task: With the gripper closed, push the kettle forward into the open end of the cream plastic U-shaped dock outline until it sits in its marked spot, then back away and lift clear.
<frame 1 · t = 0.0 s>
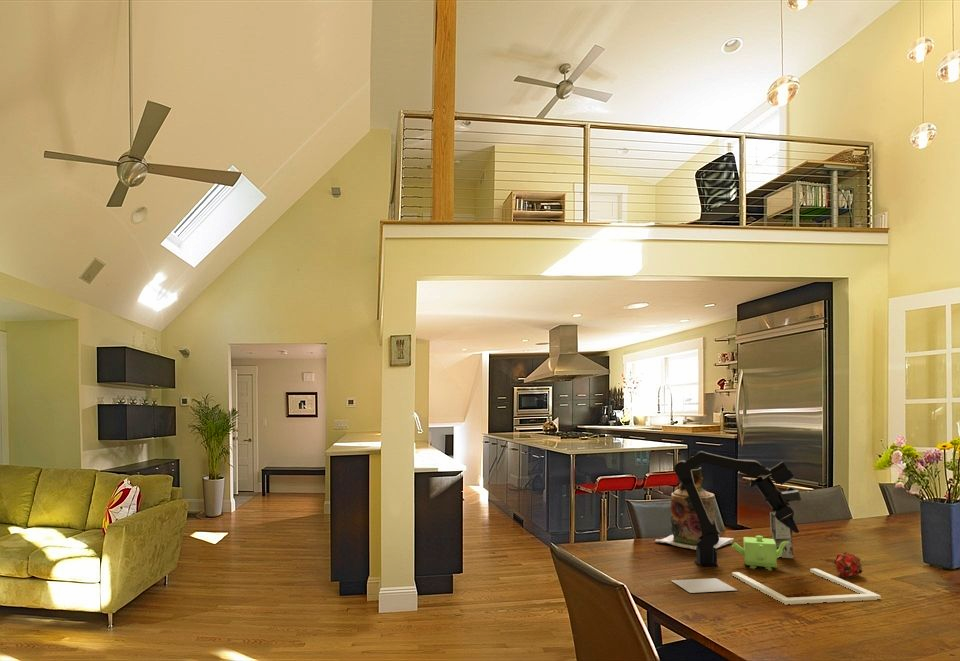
hand: (796, 529, 240), 15 cm above the table, tool tilted 35°, fingers open, 9 cm apart
dragon fruit: (848, 576, 234), on the table
paper stack: (698, 592, 218), on the table
kettle dock outline: (800, 585, 223), on the table
cookie jar: (694, 543, 283), on the table
coffee box: (782, 555, 263), on the table
kettle: (761, 568, 246), on the table
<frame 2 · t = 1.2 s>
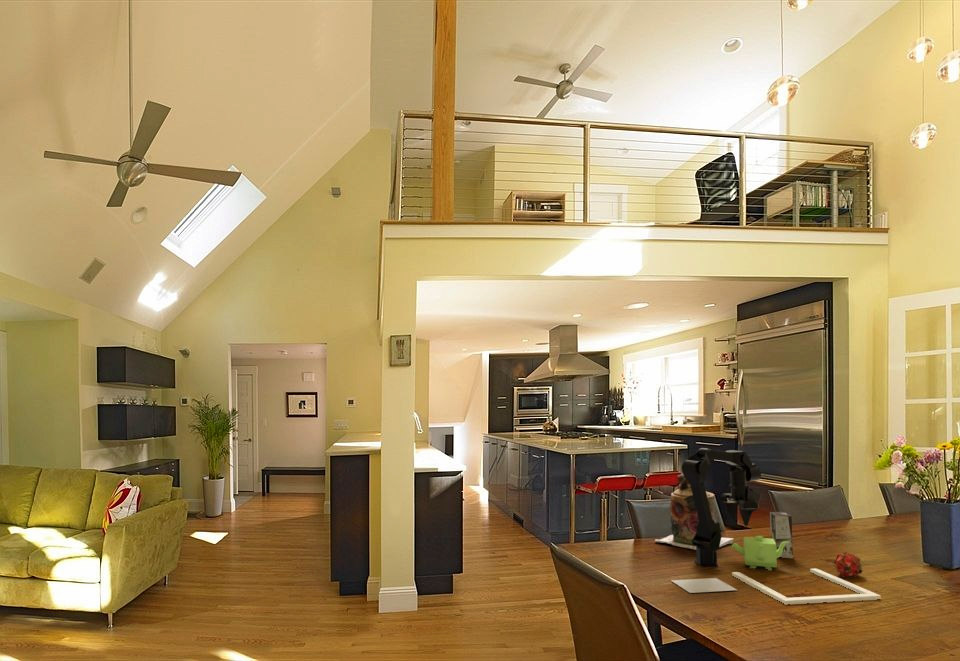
hand: (740, 523, 261), 13 cm above the table, tool pointing down, fingers open, 9 cm apart
nothing on the table moved.
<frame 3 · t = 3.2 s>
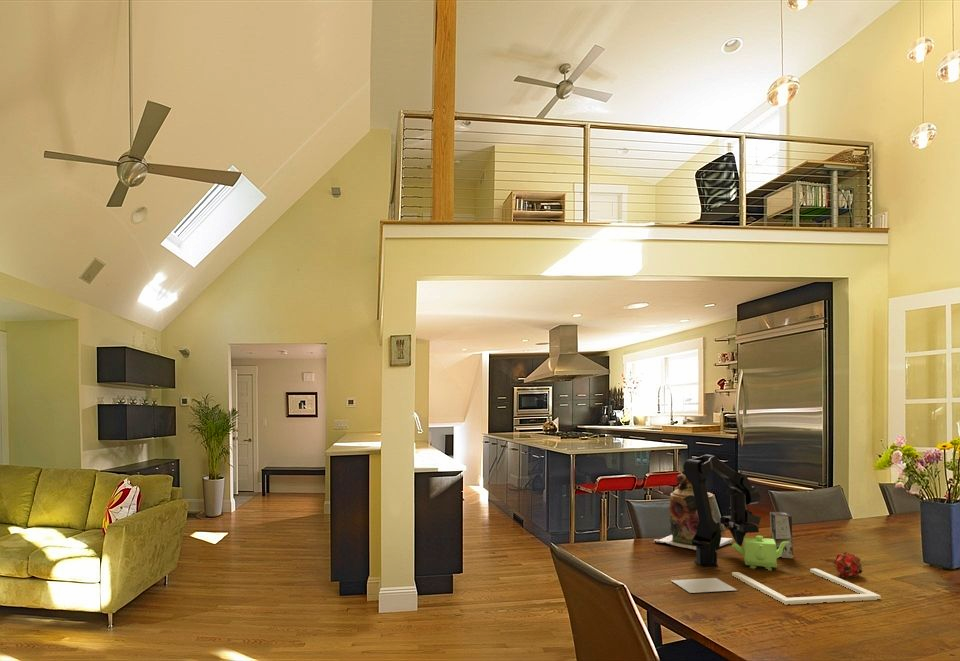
hand: (739, 546, 261), 4 cm above the table, tool pointing down, fingers closed
nothing on the table moved.
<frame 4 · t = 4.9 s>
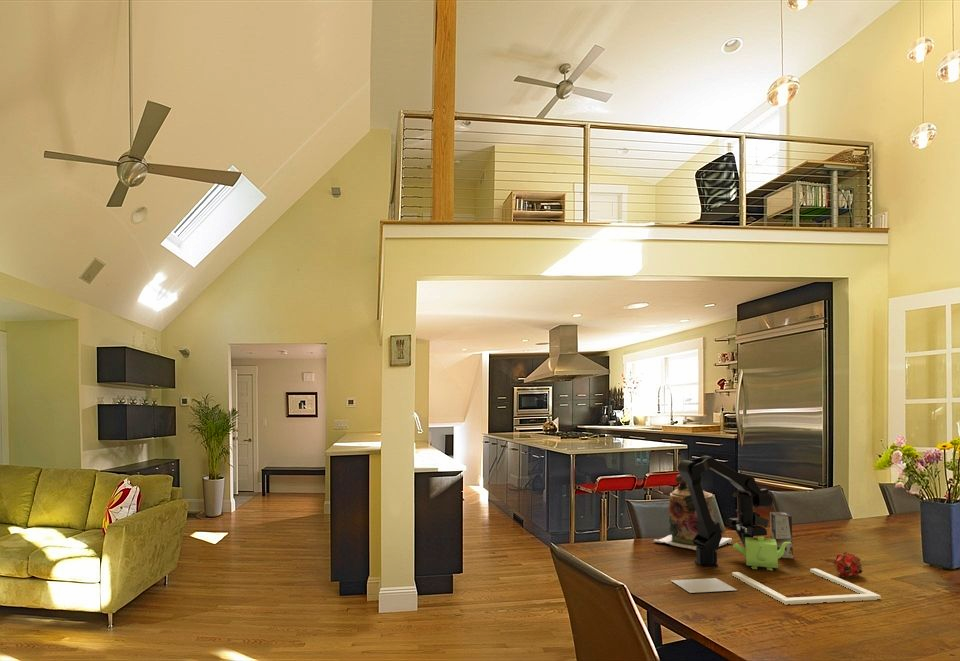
hand: (747, 549, 255), 4 cm above the table, tool pointing down, fingers closed
kettle: (762, 568, 245), on the table, touching gripper
everything else where it was.
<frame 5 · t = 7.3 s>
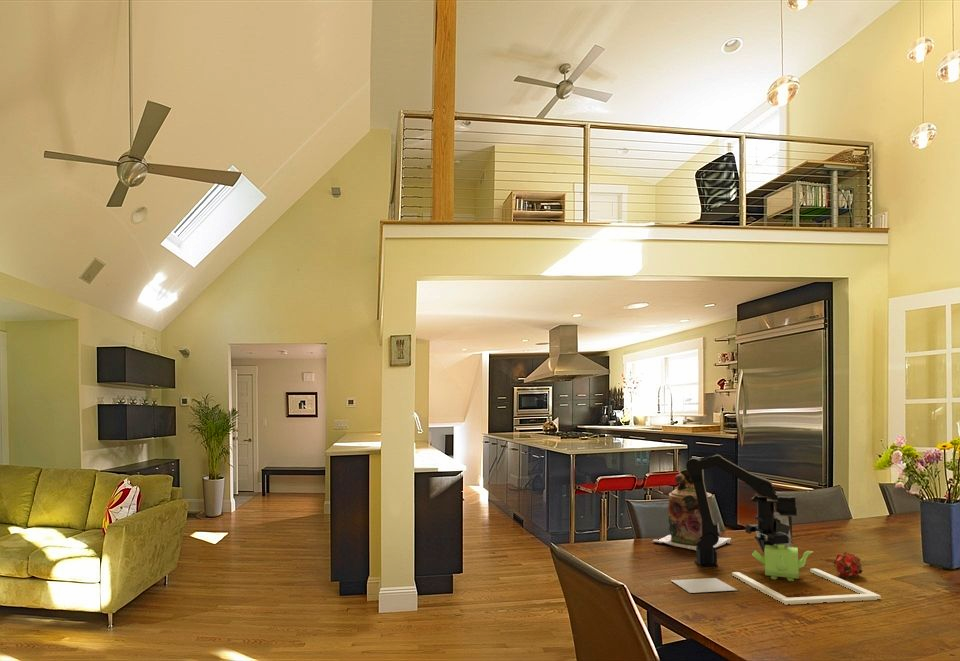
hand: (767, 557, 242), 4 cm above the table, tool pointing down, fingers closed
kettle: (783, 578, 232), on the table, touching gripper
everything else where it was.
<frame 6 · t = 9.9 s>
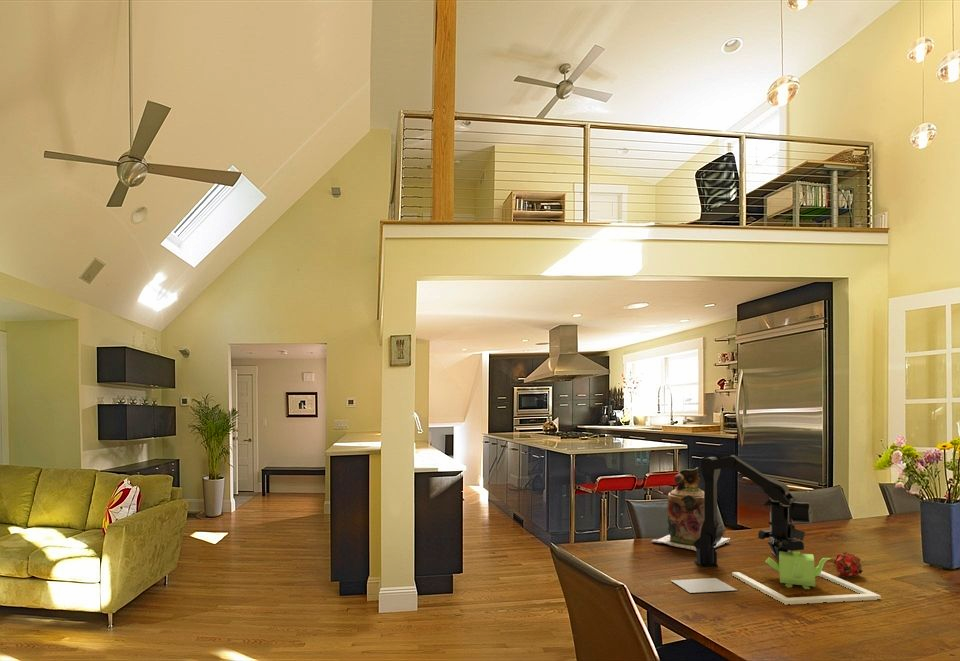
hand: (781, 564, 233), 4 cm above the table, tool pointing down, fingers closed
kettle: (798, 586, 223), on the table, touching gripper
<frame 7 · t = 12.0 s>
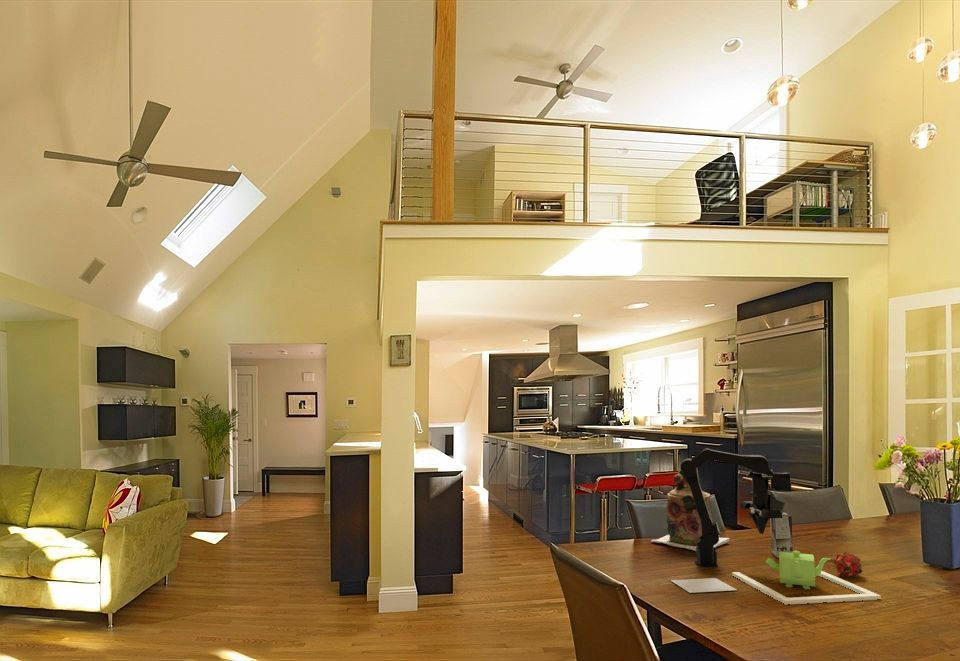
hand: (761, 533, 244), 13 cm above the table, tool pointing down, fingers closed
kettle: (798, 586, 223), on the table
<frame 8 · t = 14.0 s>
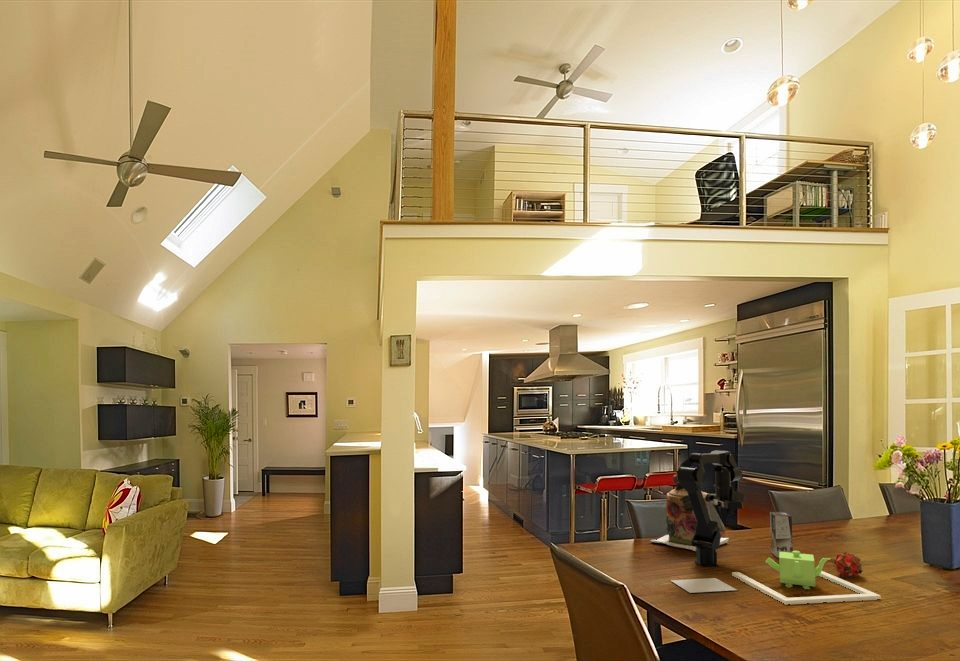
hand: (724, 523, 261), 13 cm above the table, tool pointing down, fingers closed
at the end: kettle inside the target area on the kettle dock outline (0.4 cm from its centre), point 0.0 cm above the kettle dock outline's base; kettle tilted 0°; kettle moved 22.8 cm from its start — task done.
